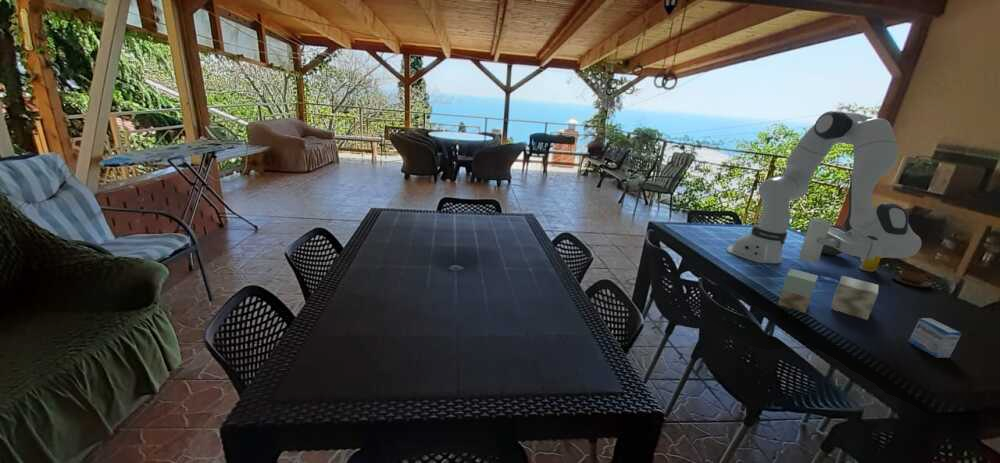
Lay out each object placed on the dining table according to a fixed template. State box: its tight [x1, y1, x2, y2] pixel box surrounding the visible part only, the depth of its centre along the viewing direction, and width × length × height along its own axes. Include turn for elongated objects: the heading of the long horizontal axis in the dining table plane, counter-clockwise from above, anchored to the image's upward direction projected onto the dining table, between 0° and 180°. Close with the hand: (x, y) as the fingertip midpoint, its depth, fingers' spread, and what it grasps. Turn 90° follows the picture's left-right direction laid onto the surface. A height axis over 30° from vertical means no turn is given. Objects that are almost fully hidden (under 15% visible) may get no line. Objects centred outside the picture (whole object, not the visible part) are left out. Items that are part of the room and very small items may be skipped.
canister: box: [798, 217, 832, 263], centre depth 132 cm, size 5×5×14 cm
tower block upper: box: [781, 268, 819, 298], centre depth 137 cm, size 8×8×6 cm
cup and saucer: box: [891, 265, 936, 288], centre depth 163 cm, size 12×12×6 cm
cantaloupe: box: [821, 224, 847, 256], centre depth 189 cm, size 14×14×15 cm
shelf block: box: [829, 275, 879, 321], centre depth 137 cm, size 10×10×10 cm
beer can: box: [858, 255, 882, 273], centre depth 173 cm, size 6×6×15 cm
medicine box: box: [908, 317, 963, 359], centre depth 115 cm, size 8×4×9 cm, turn 5°
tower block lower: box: [777, 289, 814, 314], centre depth 139 cm, size 8×8×6 cm
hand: (812, 237), depth 132 cm, fingers closed on canister, 5 cm apart
